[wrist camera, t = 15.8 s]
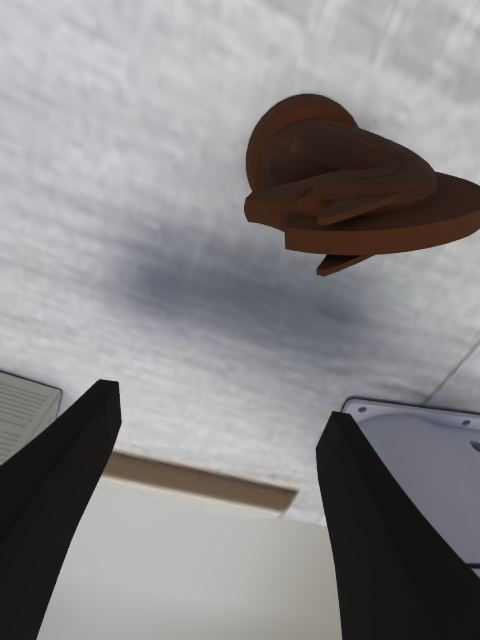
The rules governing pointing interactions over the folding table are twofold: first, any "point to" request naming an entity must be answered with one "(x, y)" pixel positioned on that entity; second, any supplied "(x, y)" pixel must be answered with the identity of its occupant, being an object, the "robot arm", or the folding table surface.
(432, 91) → the folding table surface
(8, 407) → the cosmetic box
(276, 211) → the chess piece
